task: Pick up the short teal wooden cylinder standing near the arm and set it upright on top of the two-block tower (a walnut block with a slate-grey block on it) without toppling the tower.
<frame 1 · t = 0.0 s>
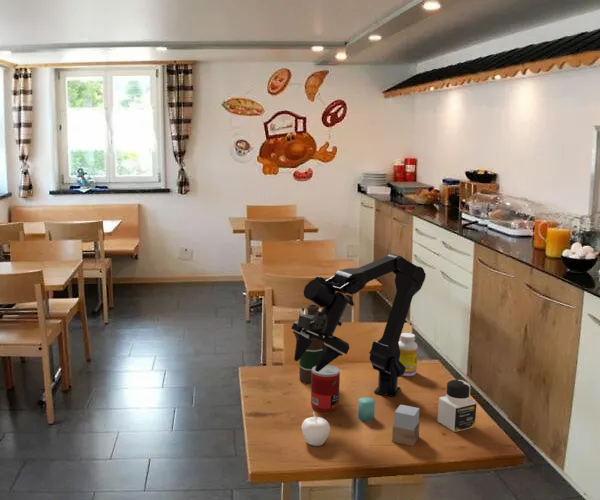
hand: (305, 365, 174), 15 cm above the table, tool tilted 35°, fingers open, 9 cm apart
plain white apple: (315, 443, 163), on the table
canned food: (324, 406, 184), on the table
beer bottle: (311, 380, 203), on the table
supplement bottle: (405, 373, 210), on the table
walnut block: (405, 439, 166), on the table, touching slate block
medicine bottle: (455, 425, 174), on the table
teal cylinder: (366, 418, 177), on the table
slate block: (406, 424, 165), point 4 cm above the table, touching walnut block
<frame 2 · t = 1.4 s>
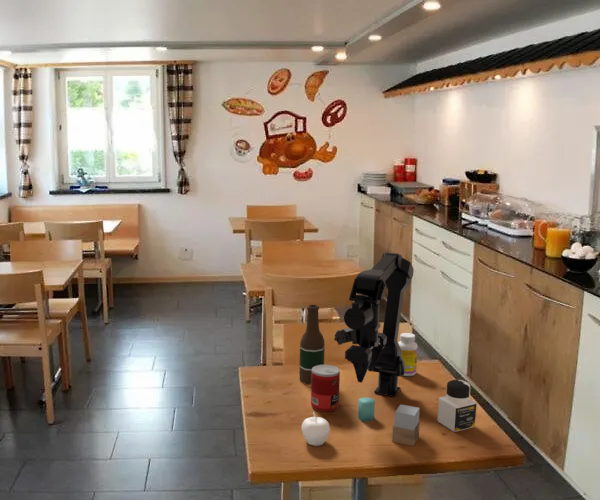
hand: (365, 376, 175), 12 cm above the table, tool pointing down, fingers open, 9 cm apart
nothing on the table moved.
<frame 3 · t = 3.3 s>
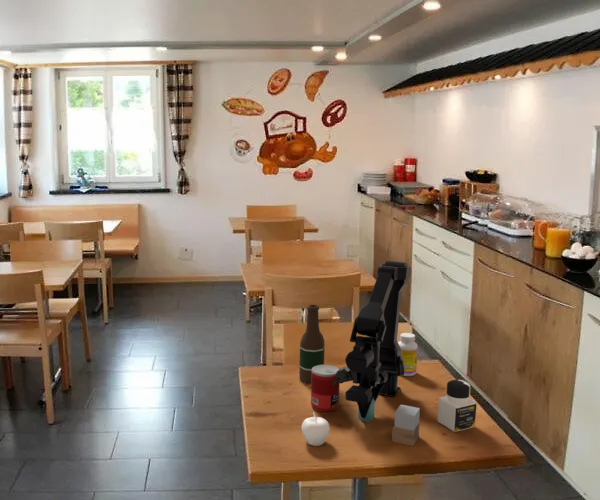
hand: (366, 414, 177), 1 cm above the table, tool pointing down, fingers closed on teal cylinder, 4 cm apart
teal cylinder: (366, 417, 177), on the table, touching gripper
everything else where it was.
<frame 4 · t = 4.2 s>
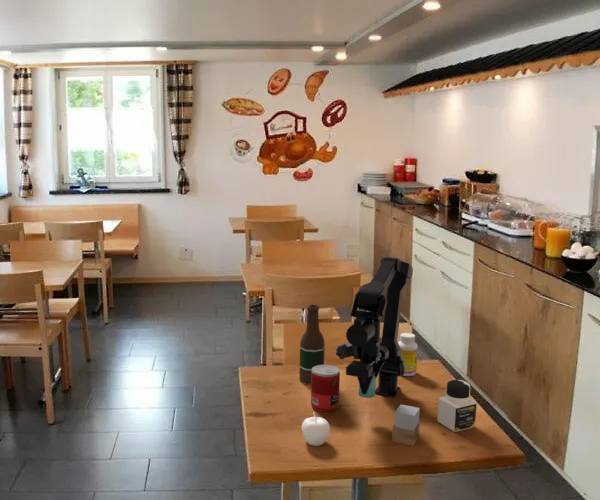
hand: (366, 390, 175), 8 cm above the table, tool pointing down, fingers closed on teal cylinder, 4 cm apart
teal cylinder: (366, 394, 176), point 7 cm above the table, touching gripper
everything else where it was.
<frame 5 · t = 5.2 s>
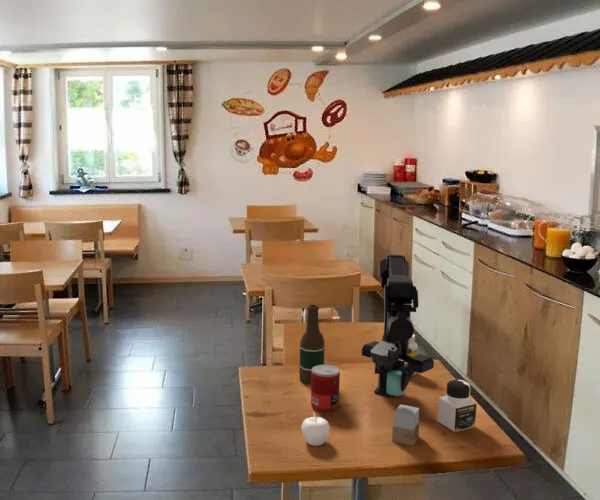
hand: (395, 388, 166), 12 cm above the table, tool pointing down, fingers closed on teal cylinder, 4 cm apart
teal cylinder: (394, 392, 166), point 11 cm above the table, touching gripper
everything else where it was.
when the fingers open (10 cm above the table, at t = 6.3 s): teal cylinder stays where it is, resting on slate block.
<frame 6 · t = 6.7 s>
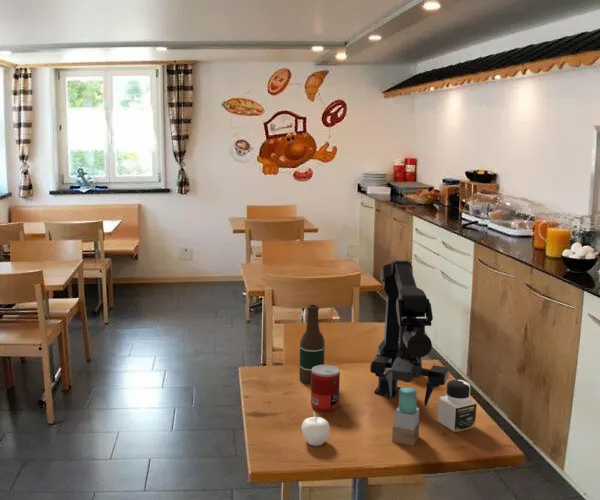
hand: (407, 402, 164), 10 cm above the table, tool pointing down, fingers open, 9 cm apart
teal cylinder: (407, 409, 164), point 8 cm above the table, touching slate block
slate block: (406, 424, 165), point 4 cm above the table, touching teal cylinder, walnut block
everything else where it was.
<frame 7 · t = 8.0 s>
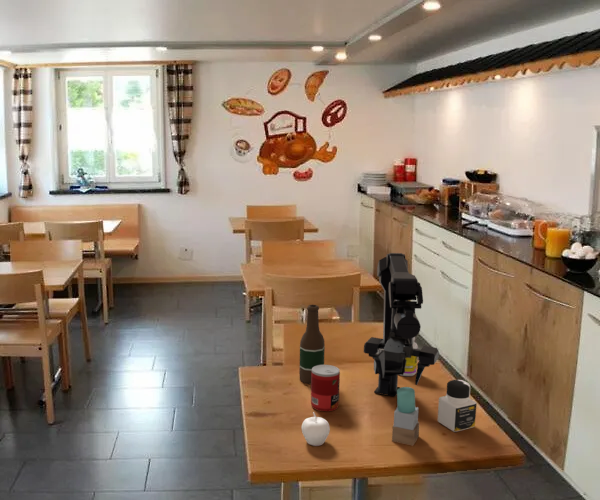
hand: (399, 381, 171), 12 cm above the table, tool pointing down, fingers open, 9 cm apart
nothing on the table moved.
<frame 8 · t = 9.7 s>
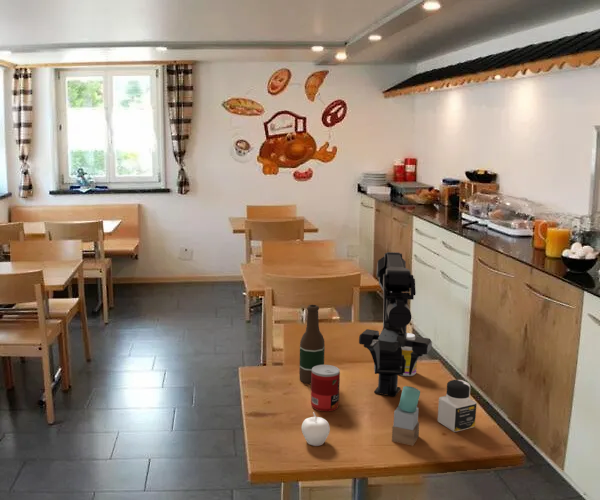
hand: (393, 371, 176), 13 cm above the table, tool pointing down, fingers open, 9 cm apart
teal cylinder: (407, 408, 164), point 8 cm above the table, tilted 11°, touching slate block
everything else where it was.
at the end: teal cylinder 0.2 cm off-centre on the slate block, point 4.4 cm above the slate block's base; teal cylinder tilted 11°; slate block tilted 0° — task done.
